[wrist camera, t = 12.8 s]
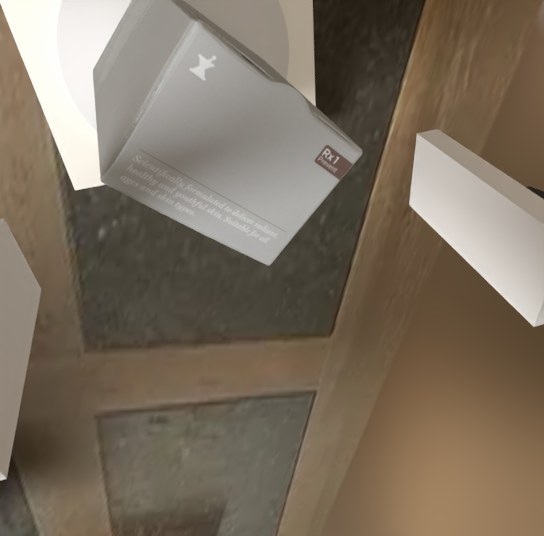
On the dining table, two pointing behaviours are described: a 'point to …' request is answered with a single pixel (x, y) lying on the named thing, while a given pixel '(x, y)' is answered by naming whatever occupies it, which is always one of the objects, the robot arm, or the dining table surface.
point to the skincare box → (211, 131)
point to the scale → (96, 34)
